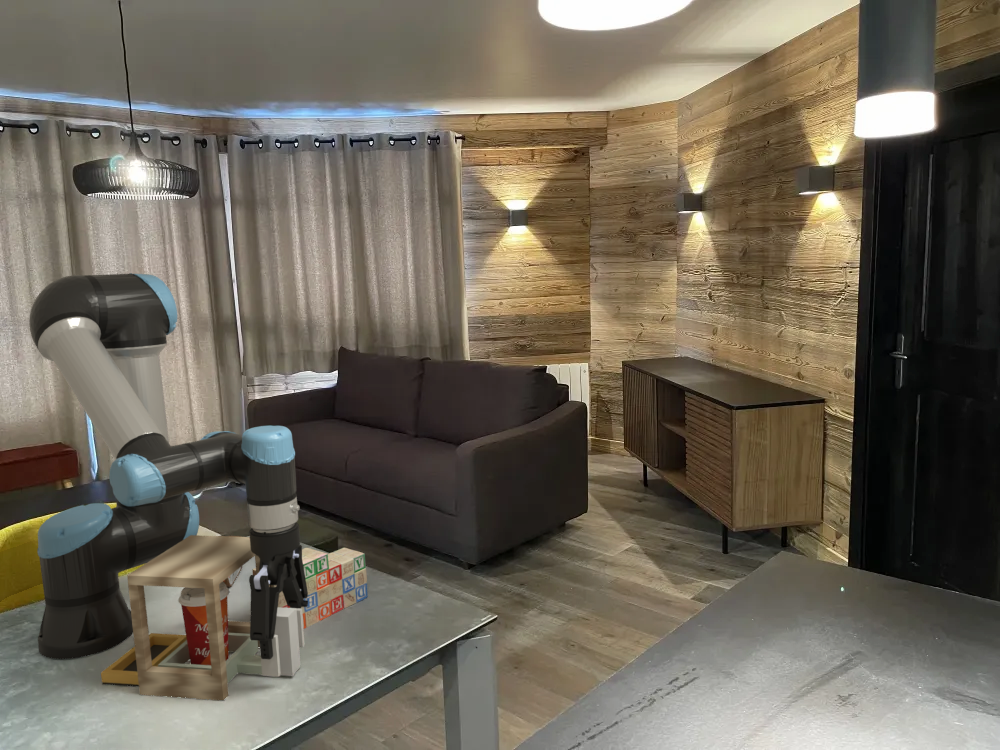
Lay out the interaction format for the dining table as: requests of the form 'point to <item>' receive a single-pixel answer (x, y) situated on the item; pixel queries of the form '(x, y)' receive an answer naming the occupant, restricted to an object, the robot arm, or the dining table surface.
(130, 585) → the oak tunnel
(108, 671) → the pit trap
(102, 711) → the dining table surface
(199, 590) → the paper cup
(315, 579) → the stack of blocks
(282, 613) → the collar
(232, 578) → the tin
